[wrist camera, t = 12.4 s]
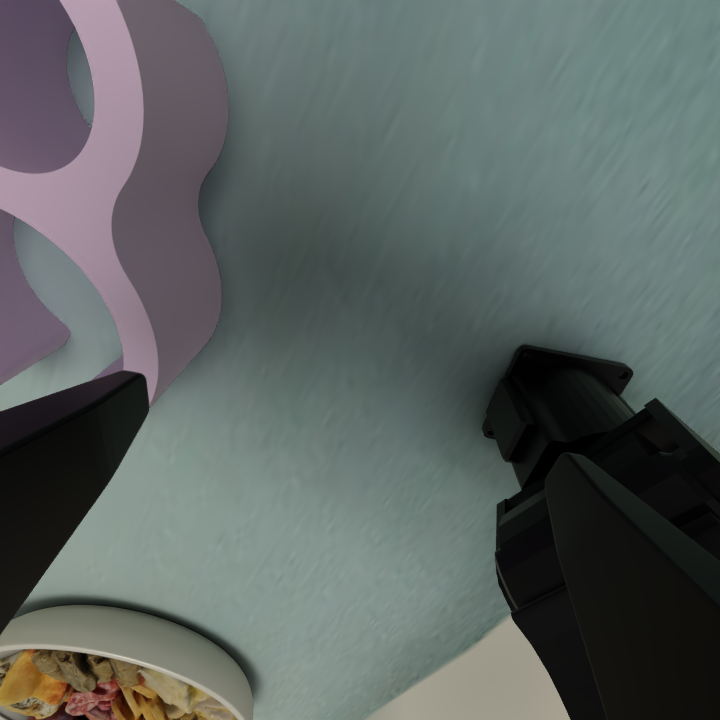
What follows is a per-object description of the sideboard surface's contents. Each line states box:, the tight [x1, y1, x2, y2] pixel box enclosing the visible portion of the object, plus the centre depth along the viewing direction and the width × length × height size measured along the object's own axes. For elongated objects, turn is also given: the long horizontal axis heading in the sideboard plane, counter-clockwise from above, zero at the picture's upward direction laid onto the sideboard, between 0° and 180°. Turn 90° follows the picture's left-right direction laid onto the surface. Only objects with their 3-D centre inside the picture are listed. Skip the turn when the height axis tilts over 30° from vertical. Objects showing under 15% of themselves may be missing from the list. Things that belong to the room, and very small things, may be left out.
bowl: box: [0, 605, 253, 720], centre depth 42 cm, size 30×30×8 cm
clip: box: [0, 0, 229, 408], centre depth 17 cm, size 20×12×7 cm, turn 154°
